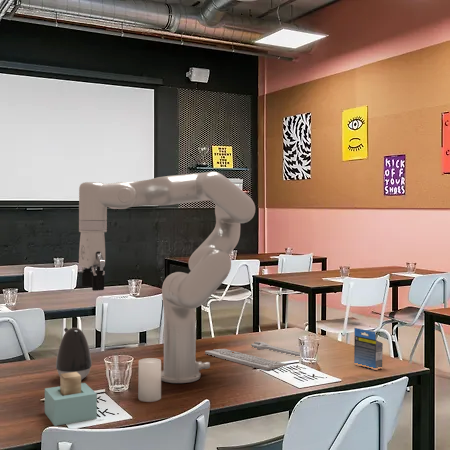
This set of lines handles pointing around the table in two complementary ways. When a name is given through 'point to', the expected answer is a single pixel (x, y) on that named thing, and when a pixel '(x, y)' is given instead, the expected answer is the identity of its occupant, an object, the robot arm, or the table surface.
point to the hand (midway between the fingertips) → (92, 288)
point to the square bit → (70, 383)
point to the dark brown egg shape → (73, 353)
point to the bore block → (70, 405)
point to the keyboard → (245, 359)
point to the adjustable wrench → (273, 348)
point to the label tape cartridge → (367, 349)
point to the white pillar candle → (149, 380)
